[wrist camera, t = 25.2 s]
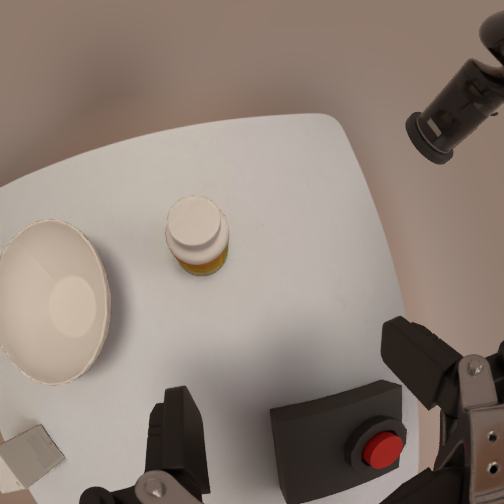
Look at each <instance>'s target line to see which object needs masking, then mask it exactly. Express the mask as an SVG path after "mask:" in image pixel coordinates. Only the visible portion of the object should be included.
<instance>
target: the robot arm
mask: <svg viewBox="0 0 504 504" xmlns="http://www.w3.org/2000/svg"><path fill="white" fill-rule="evenodd" d="M479 37H480V40H481V42H482V44H483V45H484V46H485V47H486V49H487V50H488V51H489V52H490V53H491V54H492V55H493V56H494V57H495V58H496V59H497V60H498V61H499V62H500V63H501V64H502V65H503V66H501V67H492V66H489V65H487V64H484V63H482V62H480V61H478V60H476V59H473V58H470V59H468V60H467V61H466V62H465V63H464V65H463V66H462V67H461V68H460V69H459V71H458V72H457V73H456V74H455V75H454V77H453V78H452V79H451V80H450V82H449V83H448V84H447V85H446V86H445V88H443V90H442V91H441V92H440V93H439V94H438V95H437V96H436V98H435V99H434V100H433V101H432V102H431V103H430V104H429V106H428V107H427V108H426V109H425V110H424V112H422V114H421V115H419V116H418V117H417V118H416V122H415V123H416V128H417V130H418V132H419V134H420V136H421V137H422V138H423V140H424V141H425V142H426V143H427V144H428V145H429V146H430V147H431V148H432V149H433V150H435V151H436V152H438V153H440V154H447V153H448V152H450V150H452V149H453V148H455V147H456V146H457V145H458V144H459V143H460V142H462V141H463V140H464V139H465V138H466V137H467V136H469V135H470V134H471V133H472V132H473V131H474V130H476V129H477V127H478V126H479V125H480V124H481V123H482V122H483V121H485V119H487V118H488V117H489V116H496V115H498V113H497V112H496V113H494V114H492V113H493V112H494V111H495V110H496V109H498V108H499V107H500V106H501V105H502V104H503V103H504V11H500V12H497V13H494V14H492V15H491V16H489V17H488V18H486V19H485V20H484V21H483V23H482V25H481V26H480V29H479ZM381 357H382V359H383V361H384V363H385V364H386V365H387V366H388V367H389V368H390V369H391V371H392V372H393V373H394V374H395V375H396V376H397V377H398V378H399V379H400V380H401V381H402V382H403V383H404V385H405V386H406V387H407V388H408V389H409V390H410V391H411V392H412V393H413V394H414V395H415V396H416V398H417V399H418V400H419V401H420V402H421V403H422V404H423V405H424V406H425V407H426V408H427V410H428V411H429V410H430V409H432V408H433V407H435V406H436V405H438V406H439V407H440V408H441V411H440V442H439V444H440V445H439V451H438V455H437V457H436V460H435V464H434V469H433V471H431V469H430V468H429V467H428V468H427V469H425V470H424V471H422V472H421V473H419V474H418V475H416V476H414V477H413V478H411V479H410V480H408V481H406V482H405V483H403V484H402V485H401V486H399V487H398V488H397V489H396V490H395V491H394V492H393V493H391V494H390V495H389V496H388V497H387V498H386V499H384V500H383V501H382V502H381V503H379V504H504V341H503V342H502V343H501V344H500V346H499V349H498V352H497V353H495V354H493V355H491V356H488V357H486V358H484V357H482V356H480V355H475V354H472V355H467V356H465V357H463V356H462V355H461V354H459V353H458V352H457V351H456V350H454V349H453V348H452V347H450V346H449V345H448V344H446V343H445V342H444V341H443V340H441V339H439V338H438V337H437V336H436V335H435V334H434V333H433V334H432V332H431V331H429V330H428V329H427V328H426V327H424V326H422V325H419V324H416V323H414V322H412V323H410V322H409V321H407V320H406V319H405V318H403V317H402V316H398V317H396V318H393V319H391V320H389V321H387V322H385V323H384V324H383V327H382V341H381ZM209 493H211V492H210V485H209V477H208V469H207V460H206V451H205V441H204V430H203V421H202V417H201V414H200V411H199V409H198V407H197V406H196V404H195V402H194V400H193V398H192V396H191V394H190V392H189V390H188V389H187V387H186V386H179V387H174V388H168V389H166V390H165V396H164V403H158V404H156V405H155V407H154V408H153V410H152V412H151V413H150V419H149V428H148V439H147V450H146V464H145V472H144V474H143V475H142V476H141V477H140V478H139V479H138V480H137V482H136V484H135V485H134V486H132V487H129V488H126V489H122V490H118V491H114V492H109V491H108V490H106V489H104V488H102V487H91V488H88V489H86V490H85V491H84V492H83V493H82V495H81V497H80V501H79V504H204V503H203V502H202V494H209Z"/></svg>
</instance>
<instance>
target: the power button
mask: <svg viewBox="0 0 504 504" xmlns="http://www.w3.org/2000/svg"><path fill="white" fill-rule="evenodd" d="M402 447H403V442H402V440H401V438H400V437H398V436H396V435H394V434H392V433H391V432H381V433H378V434H376V435H375V436H373V437H372V438H371V439H370V440H369V441H368V442H367V444H366V445H365V447H364V450H363V458H364V460H365V461H366V462H367V463H368V464H370V465H371V466H372V467H373V468H376V469H381V468H385V467H387V466H389V465H390V464H392V463H393V462H394V461H395V460H396V459H397V458H398V456H399V455H400V453H401V451H402Z"/></svg>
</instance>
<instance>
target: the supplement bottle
mask: <svg viewBox="0 0 504 504" xmlns="http://www.w3.org/2000/svg"><path fill="white" fill-rule="evenodd" d="M166 241H167V244H168V246H169V249H170V250H171V252H172V253H173V255H174V256H175V257H176V259H177V260H178V262H179V263H180V264H181V266H182V267H183V268H184V269H185V270H186V271H187V272H189V273H191V274H193V275H197V276H207V275H211V274H213V273H215V272H216V271H218V270H219V269H220V268H221V267H222V266H223V264H224V263H225V260H226V258H227V253H228V241H229V226H228V222H227V219H226V217H225V216H224V214H223V213H222V212H221V211H220V210H219V209H218V208H217V206H216V205H215V204H214V203H213V202H212V201H211V200H210V199H208V198H206V197H203V196H199V195H191V196H187V197H184V198H182V199H180V200H179V201H177V202H176V203H175V204H174V205H173V206H172V208H171V209H170V211H169V214H168V218H167V226H166Z"/></svg>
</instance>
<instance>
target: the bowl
mask: <svg viewBox="0 0 504 504" xmlns="http://www.w3.org/2000/svg"><path fill="white" fill-rule="evenodd" d="M110 319H111V292H110V288H109V284H108V279H107V275H106V271H105V268H104V266H103V264H102V261H101V259H100V257H99V255H98V253H97V250H96V249H95V248H94V246H93V245H92V244H91V243H90V242H89V240H88V239H87V238H86V237H85V236H84V234H83V233H82V232H81V231H79V230H78V229H76V228H75V227H73V226H72V225H70V224H69V223H67V222H63V221H59V220H54V219H48V220H41V221H37V222H35V223H33V224H31V225H29V226H27V227H25V228H23V229H22V230H21V231H20V232H19V233H18V234H17V235H16V236H15V237H14V238H13V239H12V240H11V241H10V243H9V244H8V246H7V247H6V249H5V250H4V252H3V254H2V256H1V259H0V343H1V345H2V347H3V349H4V351H5V352H6V354H7V356H8V357H9V359H10V360H11V362H12V363H13V364H14V365H15V366H16V367H17V368H18V369H19V370H20V371H21V372H22V373H23V374H24V375H26V376H27V377H29V378H31V379H32V380H34V381H36V382H38V383H42V384H47V385H52V386H54V385H60V384H66V383H69V382H71V381H73V380H74V379H76V378H77V377H79V376H81V375H82V374H84V373H85V372H87V371H88V369H89V368H90V367H91V366H92V364H93V363H94V362H95V360H96V359H97V358H98V357H99V354H100V352H101V349H102V347H103V345H104V342H105V340H106V338H107V335H108V330H109V324H110Z"/></svg>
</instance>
